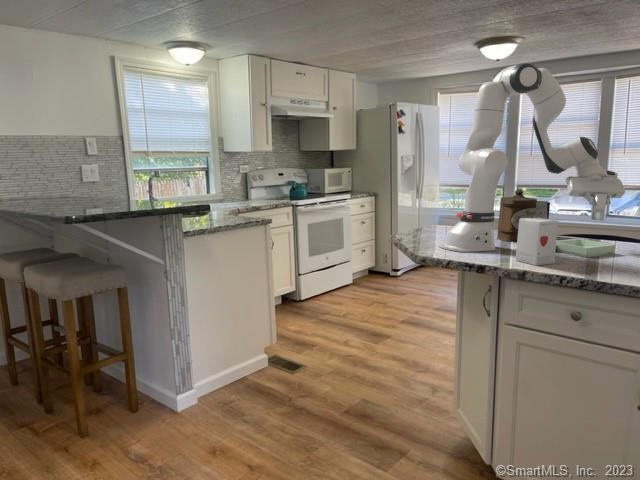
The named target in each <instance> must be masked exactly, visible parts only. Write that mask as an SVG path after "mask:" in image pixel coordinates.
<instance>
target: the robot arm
mask: <svg viewBox="0 0 640 480" xmlns="http://www.w3.org/2000/svg"><path fill="white" fill-rule="evenodd" d="M523 94H526V96H527V97H528V98H529V99H530V101H531V104H532V105H533V107H534V112H535V113H534V116H533V117H532V127H533V129H534V134H535V136H536V139H537V140H536V141H538V142H537V143H538V145H539V149H540V151H541V155H542V157H543V163H544V167H545V168H546V170H547V171H548V172H549V173H551V174H556V175H559V174H561V173H562V172H564V171H567V170H569V169H570V168H573V167H574V168H575V170H576V173H577V174H576V175H577V176H572V175H570V176H568V177H566V178H565V183H566V184H567V194H568V195H569V196H570V197H573V198H574V197H577V198H580V197H581V198H583V199H585V200H586V201H587V202H588V203H589V205H590V206H593V205H594V204H595V203H596V201H595V199H594V196H595V193H601V194H607V201H606V206H610V205H611V204H612V202H611V199H621V198H622V197H623V196H624V195H625V193H626V189H625V186H624V184H623V182H622V180H621V179H620V178H619V177H618V176H619V174H618V173H617V172H616V171H612V170H608V169H605V168H604V167H602V165H601V164H600V160H599V159H600V158H599V157H598V155H599V153H598V150H597V147H596V145H595V143H594V142H593V140H592V139H591V138H589V137H586V136H579V137H576V138H574V139H572V140H570V141H568V142H566V143H565V144H561V145H560V146H558V147H555V148H553V146H552V144H551V141H550V138H549V134H548V128H549V127H550V125H551V124H552V123H553V122H554V121H555V120H556V119H557V118H558V117H559V116H560V115H561V114H562V113H563V111H564V109H565V107H566V104H567V98H566V96H565V93H564V91H563V89H562V87H561V85H560V83H559V82H558V81H557V79H556V78H555V76H554V75H553V73H551V71H549V70H548V69H547V68H544V67H540V68H537V66H535V65H534V64H531V63H528V62H527V63H526V62H524V63H518V64H516V65H509V66H507V67H505V68H504V69H501V70H499V71H498V72H496V73H495V74H494V75H493V77H492V78H491V80H490V81H487V82H485V83H483V84H482V85H481V86H479V90H478V92H477V96H476V99H475V103H474V109H473V116H472V123H471V130H470V134H469V136H468V140H467V142H466V145H465V148H464V150H463V152H462V153H461V154H460V156H459V157H458V158H459V159H458V162H457V163H458V167H459V169H460V170H461V172H463V173H464V174H466V175H468V176H471V181H470V183H469V186H468V187H467V189H466V190H465V195H464V208H463V209H464V210H463V212H462V213H461V212H458V211H457V212H456V218H459V219H460V220H459V221H458V222H457V223H456V224H455V225H454V226H452V227H451V228H450V229H449V230H448V231H447V232H446V234H445V239H444V240H445V241H444V242H442V243H439V244H438V247H439V248H442V249H445V250H448V251H452V252H461V253H466V252H467V253H468V252H469V253H470V252H485V251H488V252H489V251H496V243H495V234H494V233H495V232H494V222H495V217H496V216H495V211H494V209H495V207H494V206H495V197H496V190H497V187H498V184H499V181H500V179H501V176H502V175H503V173H504V172H505V171H506V170H507V167H508V164H509V160H508V159H509V158H508V156H507V154H506V153H504V152H503V151H502V150H499V149H497V148H494V146H495V143H496V142H497V139H498V138H499V137H500V135H501V133H502V130H503V123H504V114H505V108H506V102H507V100H508V98H509V97H516V96H519V95H523Z"/></svg>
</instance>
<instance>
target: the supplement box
mask: <svg viewBox="0 0 640 480" xmlns="http://www.w3.org/2000/svg"><path fill="white" fill-rule="evenodd" d="M558 229H559V220H557V219H550V218H549V219H545V218H520V219H519V229H518V240H517V242H516V253H515V261H516V262H517V261H518V262H521V263H526V264H529V265H533V266H543V265H553V264H555V259H556V258H555V257H556V252H555V250H556V241H558V240H557V237H558Z"/></svg>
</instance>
